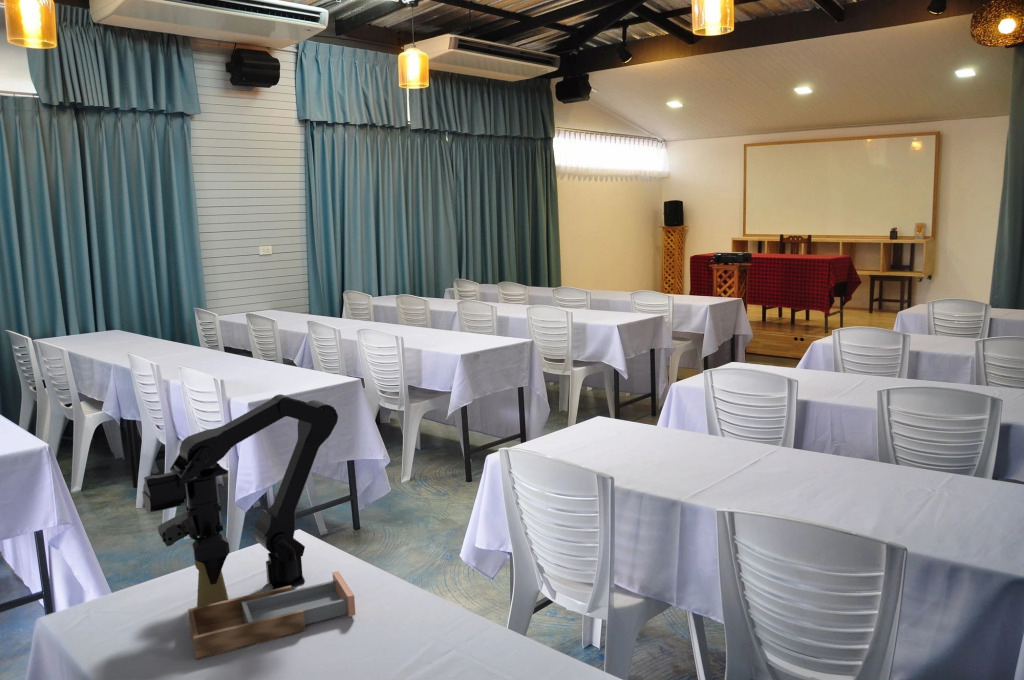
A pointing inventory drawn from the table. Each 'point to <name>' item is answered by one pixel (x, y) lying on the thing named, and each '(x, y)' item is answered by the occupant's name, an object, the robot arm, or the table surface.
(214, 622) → the brown wooden box
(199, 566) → the olive pawn figure
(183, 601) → the table surface
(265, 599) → the tray
